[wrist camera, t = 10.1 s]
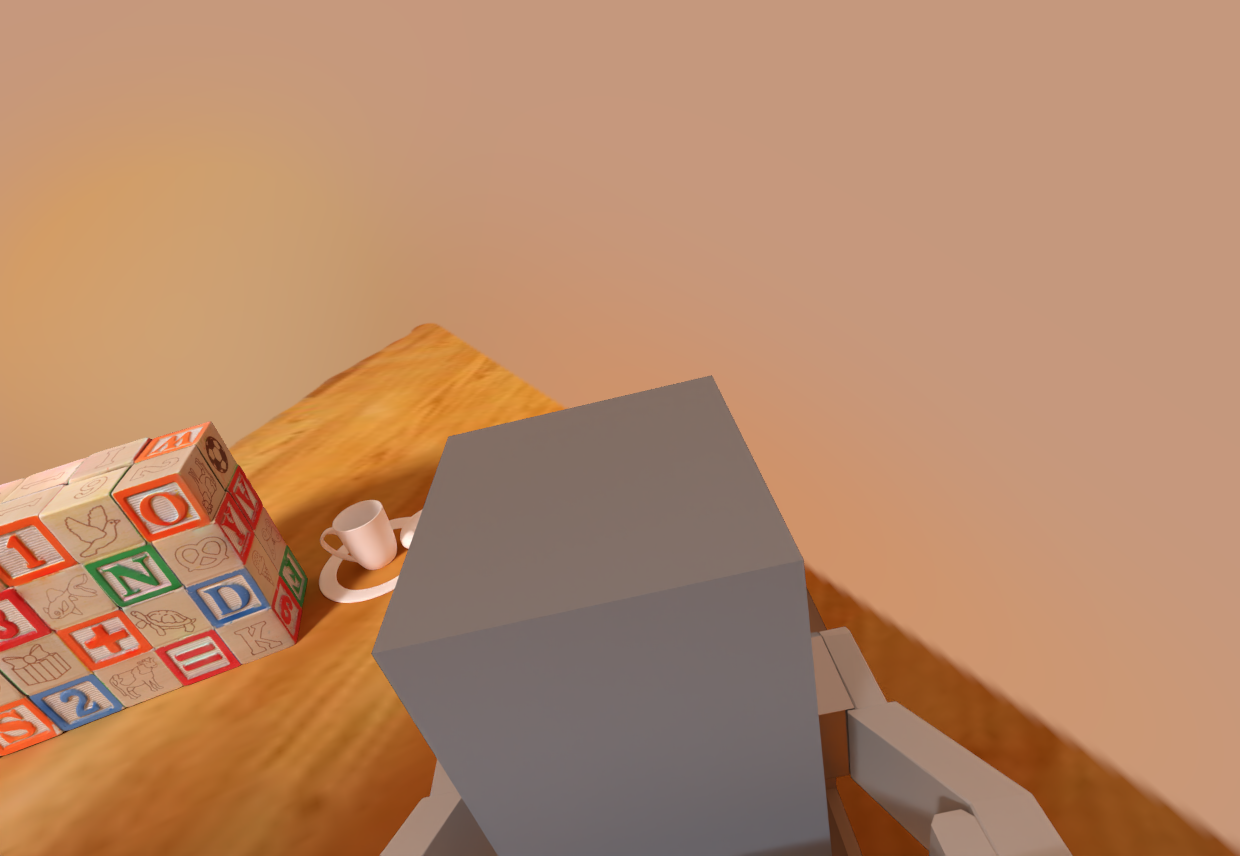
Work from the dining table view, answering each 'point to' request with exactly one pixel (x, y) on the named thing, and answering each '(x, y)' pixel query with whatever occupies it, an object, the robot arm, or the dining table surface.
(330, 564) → the teacup and saucer
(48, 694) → the stack of blocks
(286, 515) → the dining table surface
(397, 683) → the block
